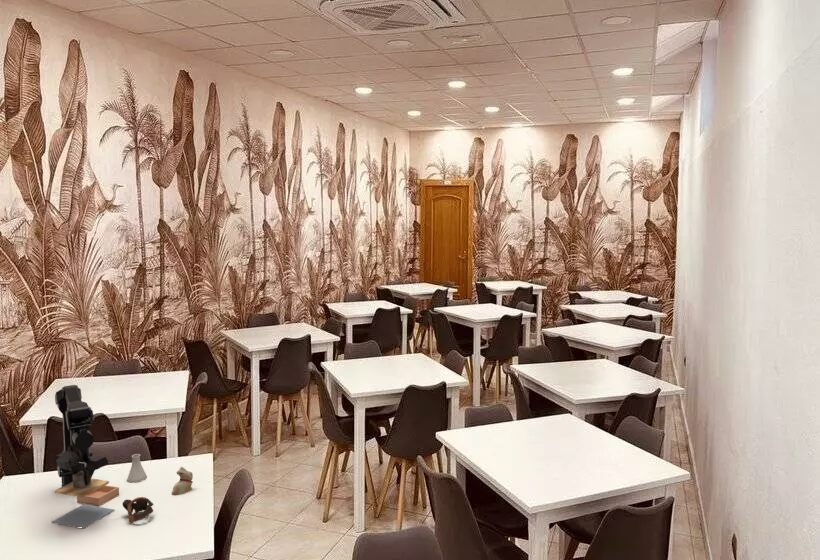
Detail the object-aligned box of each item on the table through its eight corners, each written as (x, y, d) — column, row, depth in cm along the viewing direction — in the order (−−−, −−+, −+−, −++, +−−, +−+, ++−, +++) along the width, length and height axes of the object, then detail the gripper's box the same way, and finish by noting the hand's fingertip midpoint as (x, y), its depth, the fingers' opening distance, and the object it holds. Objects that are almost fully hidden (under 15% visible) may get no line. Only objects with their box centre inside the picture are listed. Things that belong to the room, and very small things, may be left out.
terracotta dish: (77, 502, 231) (76, 494, 231) (98, 491, 240) (97, 483, 240) (98, 506, 228) (98, 498, 228) (119, 494, 237) (118, 487, 237)
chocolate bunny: (193, 492, 240) (192, 467, 239) (171, 496, 237) (170, 470, 236) (192, 487, 245) (192, 462, 244) (171, 490, 242) (170, 465, 241)
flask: (139, 483, 248) (138, 459, 247) (123, 482, 249) (122, 458, 248) (150, 476, 255) (149, 452, 254) (134, 475, 256) (133, 451, 255)
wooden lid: (54, 492, 215) (53, 478, 215) (82, 479, 227) (81, 465, 226) (82, 497, 212) (81, 482, 211) (109, 483, 223) (108, 469, 223)
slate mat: (51, 522, 216) (51, 521, 215) (83, 505, 229) (83, 504, 229) (83, 528, 211) (83, 527, 211) (114, 510, 225) (114, 509, 225)
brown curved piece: (160, 512, 224) (158, 498, 220) (144, 534, 217) (142, 520, 212) (130, 501, 226) (128, 487, 221) (114, 523, 218) (111, 509, 214)
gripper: (39, 445, 213) (41, 489, 214) (82, 452, 207) (85, 497, 209) (66, 435, 223) (68, 477, 225) (108, 440, 218) (110, 483, 219)
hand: (82, 483), depth 219 cm, fingers closed on wooden lid, 4 cm apart
